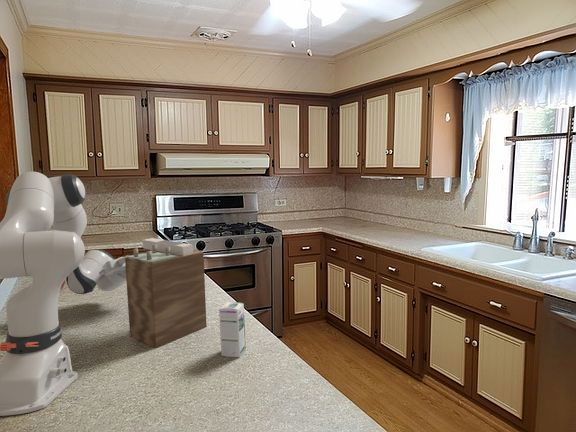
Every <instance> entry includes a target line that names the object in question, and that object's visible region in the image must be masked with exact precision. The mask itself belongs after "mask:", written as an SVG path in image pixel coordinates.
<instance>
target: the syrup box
mask: <svg viewBox="0 0 576 432" xmlns="http://www.w3.org/2000/svg"><path fill="white" fill-rule="evenodd" d="M218 314H219V315H218V317H219V334H220V337H219V338H220V352H221V356H222V357H228V358H241V356H242V355H243V353H244V352H245V351H246V348H247V346H246V326H245V325H246V324H245V321H246V320H245V306H244V303H243V302H238V301H237V302H236V301H226V302H225V303H224V304H223V305H222V306H220V307H219V309H218Z"/></svg>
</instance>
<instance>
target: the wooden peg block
mask: <svg viewBox="0 0 576 432" xmlns="http://www.w3.org/2000/svg"><path fill="white" fill-rule="evenodd" d="M152 249H153V250H148V251H146V252H141V253H139V248H136V247H135V248H133V250H132V251H133V252H132V253H133V254H132V255H130V256H127V255H126V256H127V258H125V266H126V294H127V307H128V308H127V310H128V323H129V325H128V326H129V327H128V328H129V337H130V338H132V339H133V340H136V341H138V342H141V343H143V344H146V345H148V346H151V347H153V348H155V349H158V348H161V347H163V346H165V345H166V344H170V343H171V342H174V341H177V340H179V339H181V338H185V337H186V336H188V335H191V334H193V333H196V332H198V331H201V330H202V329H205V328H207V325H208V324H207V310H206V309H207V306H206V305H207V303H206V284H205V283H206V281H205V259H204V258H205V257H204V256H205V255H204V251H199V250H194V249H193V254H190V255H185V256H181V255H176V254H171V253H170V247H166V253H165V252H160V251H157V245H152Z"/></svg>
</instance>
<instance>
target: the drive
mask: <svg viewBox="0 0 576 432" xmlns="http://www.w3.org/2000/svg"><path fill="white" fill-rule="evenodd" d="M152 245H157V251H160V252H165V253H166V247H170V253H171V254H176V255H181V256H185V255H190V254H193V250H194V246H193V245H194V244H191V243H184V242H178V241H172V240H167V239H161V238H155V237H150V238H145V239H142V248H143V249H144V250H145V249H146V250H149V251H153V249H152Z"/></svg>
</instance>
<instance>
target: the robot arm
mask: <svg viewBox="0 0 576 432" xmlns="http://www.w3.org/2000/svg"><path fill="white" fill-rule="evenodd" d="M85 199H86V189H85V185H84V183H83V182H82V181H81V179H80V178H79V177H78V176H77V175H74V174H73V173H72V174H71V173H69V174H67V173H66V174H61V175H60V176H52V177H47V176H46V175H45V174H43V173H41V172H37V171H26V172H23V173H21V174H20V175H18V176H17V177H16V179H15V181H14V182H13V184H12V185H11V188H10V189H9V190H8V191H7V193H6V195H5V201H6V205H7V206H6V211H5V214H4V217H3V218H2V220H0V280H4V279H14V278H23V277H31V278H32V283H30V285H28V286H26V287H24V288H23V289H21V290H19V291H17V292H15V293H14V294H13V295H11V297H10V298H9V299H8V300H7V301H6V305H5V313H6V322H7V331H8V332H7V333H6V338H5V342H1V343H0V352H5V354H4V356H3V358H2V360H1V362H0V417H1V416H3V417H5V416H15V415H22V414H27V413H32V412H36V411H39V410H42V409H44V408H46V407H48V405H50V404H51V402H53V401H54V400H55V399H56V398H57V397H58V396H59V395H60V394H62V393H63V392H64V391H65V389H67V388H68V387H69V386H70V385H71V384H72V383H73V382H75V380H77V379H78V378H79V373H78V372H77V371H75V370H73V368H72V361H71V355H70V348H69V347H68V346H67V345H66V344H65V343H64V341H63V339H62V338H63V329H62V326H61V325H62V324H61V323H60V322H59V295H60V292H61V291H60V290H61V289H62V288H61V286H62V284H63V282H64V280H65V283H66V284H67V285H66V286H67V287H68V289H69V290H70V291H71V292H73V293H75V294H76V295H85V294H89V293H92V292H93V291H94V290H95V288H96V286H97V288H98V289H99V290H101V291H103V292H112V291H115V290H116V289H118V288H120V287H121V286H122V285H124V284H125V283H127V281H126V266H125V258H127V256H131V255H129V254H128V255H125V256H121V257H118V258H114V256H112V254H111V253H109V252H108V251H106V250H104V249H101V248H100V249H99V248H91V249H89V250H88V251H87V252H86V250H85V248H86V247H85V244H84V241H83V240H82V236H83V234H84V232H85V230H86V227H87V225H88V218H87V216H88V215H87V212H86V211H85V209H84V207H83V205H82V204H83V203H84V201H85ZM51 228H52V230H50V229H51ZM60 288H61V289H60Z"/></svg>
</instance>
